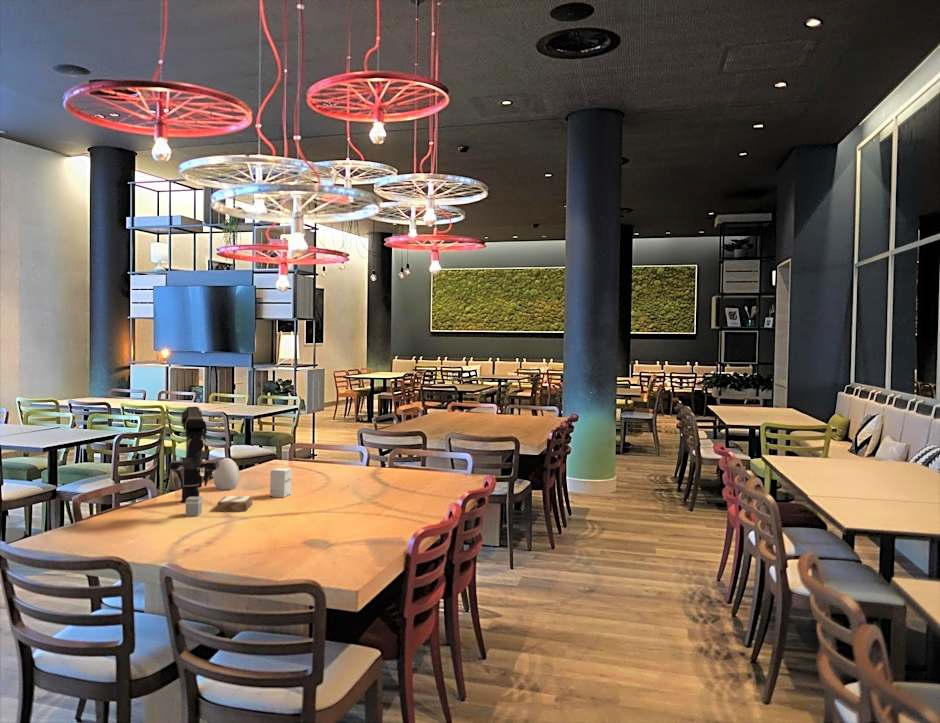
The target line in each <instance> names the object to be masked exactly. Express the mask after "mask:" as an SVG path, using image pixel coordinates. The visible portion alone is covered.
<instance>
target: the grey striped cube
mask: <svg viewBox="0 0 940 723" xmlns="http://www.w3.org/2000/svg"><path fill="white" fill-rule="evenodd" d="M202 497H203V496H199V497H188V498H187V499H186V502H185V517H199V516H201V514H202V510H203V509H202V507H203V506H202V505H203V498H202Z"/></svg>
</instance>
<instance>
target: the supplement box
mask: <svg viewBox="0 0 940 723" xmlns="http://www.w3.org/2000/svg"><path fill="white" fill-rule="evenodd" d="M269 485H270V487H269V488H270V490H269V492H270V493H269V496H273V497H272V498H282V497H284V498H286V497H288V496H290V495H291V493H292V492H291V491H292V468H286V467H285V468H284V467H277V468H273V469H271V470H270V484H269ZM289 494H290V495H289ZM287 495H288V496H287ZM285 496H286V497H285Z"/></svg>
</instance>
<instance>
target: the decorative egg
mask: <svg viewBox="0 0 940 723" xmlns="http://www.w3.org/2000/svg"><path fill="white" fill-rule="evenodd" d="M218 462H219V468H217V469H216V470H214V471H213V477H212V479H213V484H214V486H215V487H216V489H217V490H219V489H220V490H219V491H229V490H228V489H231V490H234V489H236V487H237V486H238V485H239V483H240V478H241V477H240V475H241V474H240V473H241V472H240V469H239V467H238V464H237V463H236V462H235V461H234V460H233V459H232V458H230V457H225V458H223V459H221V460H220V461H218Z"/></svg>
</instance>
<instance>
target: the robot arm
mask: <svg viewBox="0 0 940 723" xmlns="http://www.w3.org/2000/svg"><path fill="white" fill-rule="evenodd" d="M180 423H181V425H182V428H183V430H184V432H185V433H184V434H185V438H186V440H185V447H186V448H185V457H184V459H183V460H173V461H171V462H170V463H169V466H168V468H169V470H172V472H175V474H176V475H177V476H178V478H179V488H180V489H181V500H180V503H186V499H187V498H188V497H200V489H199V488H201V487H203V477H202V475H201V473H200V471H199V469H200V468H205V469H206V470H205V469H204V472H205V476H204V487H207V485H208V482H209V480H210V478H211V475H212V473H214V471H215V470H216V469H217V468H219V462H220V461H217V460H208V461H207V462H203V451H204V450H203V448H204V447H205V444H204V443H205V442H204V441H203V436H204V437H205V436H206V434H207V433H208V429H207V428H208V427H207V423H206V421H205V420H204V418H203V412H202V411H201V410H199V406H187V407H186V409H185V410H184V411H182V412H181V417H180Z"/></svg>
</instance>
